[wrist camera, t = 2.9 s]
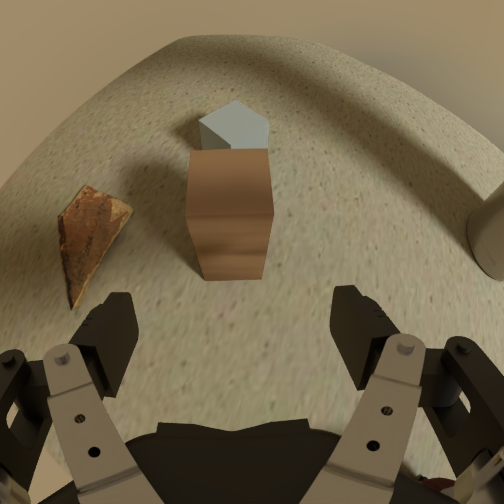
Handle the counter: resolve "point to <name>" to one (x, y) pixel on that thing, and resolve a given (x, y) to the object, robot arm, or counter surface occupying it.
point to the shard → (88, 237)
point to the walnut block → (230, 211)
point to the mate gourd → (440, 485)
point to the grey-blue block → (233, 128)
